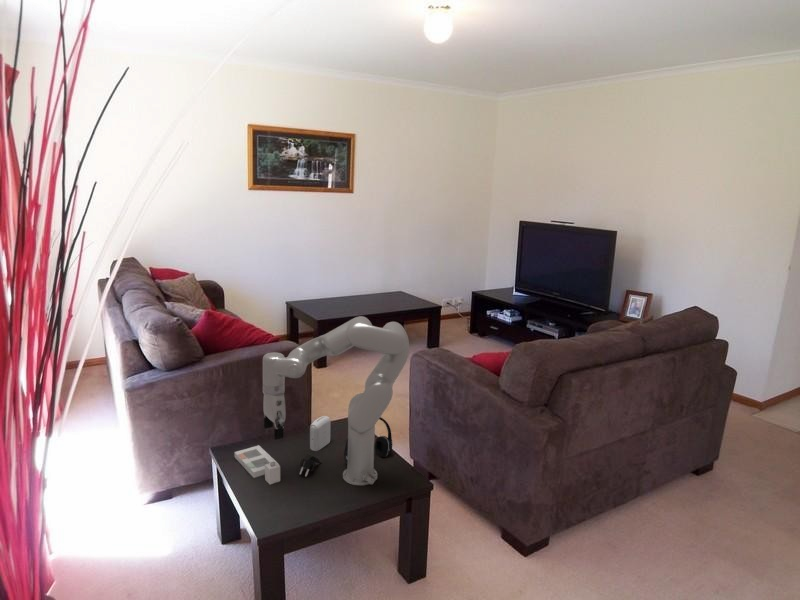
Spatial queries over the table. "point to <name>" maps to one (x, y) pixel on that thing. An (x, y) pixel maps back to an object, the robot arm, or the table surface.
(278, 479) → the plug
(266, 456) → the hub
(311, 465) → the power plug
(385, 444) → the headphones
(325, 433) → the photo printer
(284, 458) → the table surface
